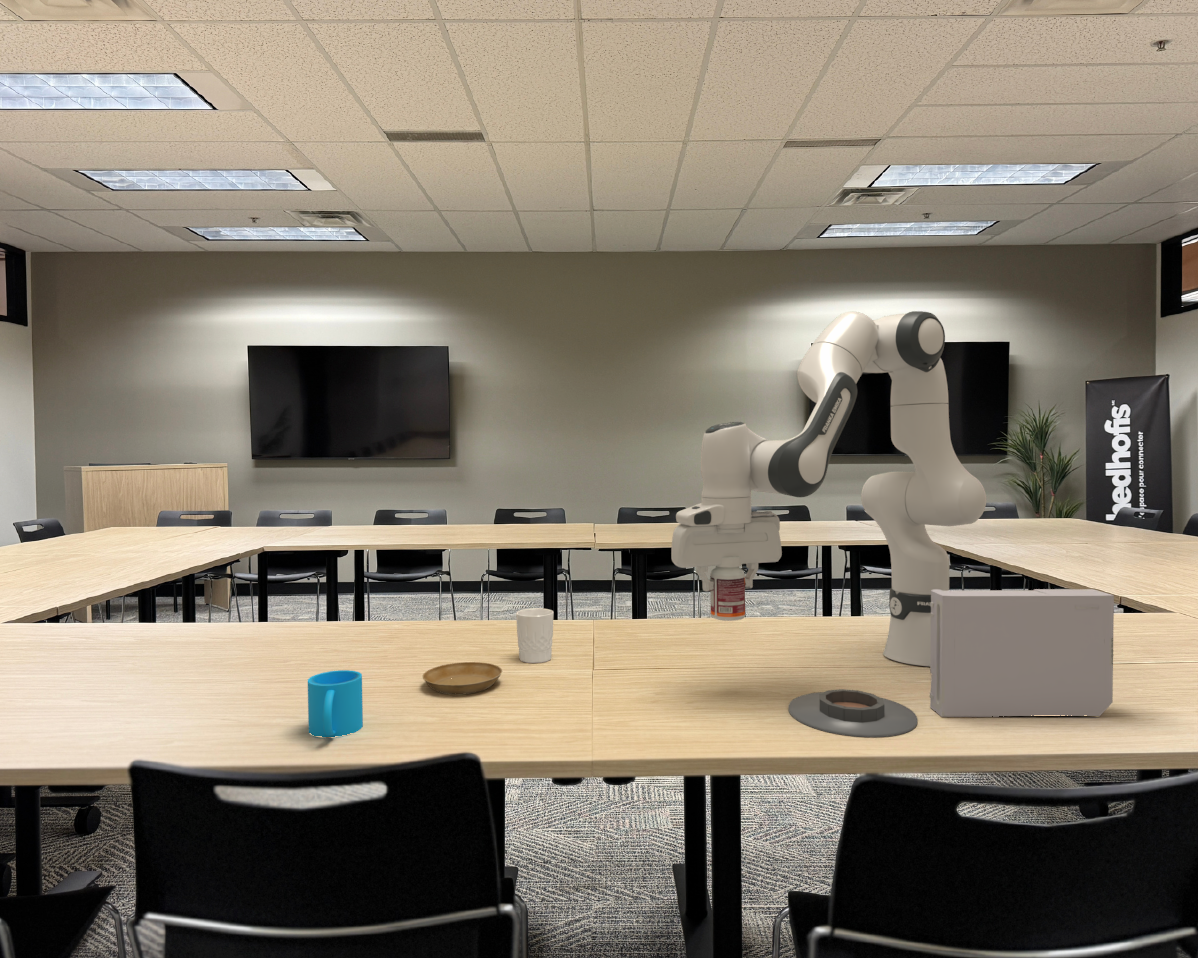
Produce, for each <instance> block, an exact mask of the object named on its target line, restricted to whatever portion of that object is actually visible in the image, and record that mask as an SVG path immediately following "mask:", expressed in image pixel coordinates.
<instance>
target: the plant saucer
mask: <svg viewBox="0 0 1198 958" xmlns="http://www.w3.org/2000/svg"><path fill="white" fill-rule="evenodd" d="M502 674H503V669H502V668H501V667H500V666H499V665H496V664H493V663H489V662H481V661H479V662H476V661H466V662H465V661H464V662H454V663H453V662H452V663H447V664H442V665H438V666H435V667H432V668H430V669H428V670H427V671H425V672H424V673H423V674H422V679H423V681H424V682H425V683H426V684H427V685H428V686H429V687H430V688H431V689H432V690H434V691H435V692H437V693H440V694H446V695H468V694H475V693H479V692H483V691H485V690H487V688H488V689H489V688H490V687H492V686H494V685H493V684H495V683H496V682H497V680H499V678H500V677H501V675H502ZM451 678H452V679H451Z"/></svg>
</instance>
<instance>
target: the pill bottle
mask: <svg viewBox="0 0 1198 958" xmlns="http://www.w3.org/2000/svg"><path fill="white" fill-rule="evenodd" d="M742 565H743V564H741V557H740V556H737V557H736V556H735V557H722V563H721V565H719V566H714V568H713V569H711V571H710V573H709V575H710V576H709V580H711V581H714V586H713V587H714V590H713V591H709V592H710V597H709V598H710V616H711V618H713V619H715V620H717V621H722V622H723V621H725V622H726V621H727V622H728V621H729V622H730V621H732V622H733V621H740V620H743V619H744V618H745V617H746V588H745V576H746V574H745V572H744V570H743V569H742V568H741V567H742Z"/></svg>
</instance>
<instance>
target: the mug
mask: <svg viewBox="0 0 1198 958" xmlns="http://www.w3.org/2000/svg"><path fill="white" fill-rule="evenodd" d="M307 708H308V709H307V713H308V715H307V716H308V719H307V720H308V721H307V722H308V724H307V725H308V734H309V733H311V734H312V735H314V736H322V737H335V736H342V735H346V736H348V735H347V734H350V733H353V734H355V733H358V732H359V731H361V729H362V728H363V727H364V716H363V715H364V713H363V710H364V707H363V674H362V673H361V672H360V671H356V670H346V669H343V670H330V671H326V672H325V671H323V672H321V673H317V674H314V675H312V676H310V677H309V678H308V679H307ZM350 735H351V734H350ZM314 736H313V737H314ZM342 737H343V736H342Z"/></svg>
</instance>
